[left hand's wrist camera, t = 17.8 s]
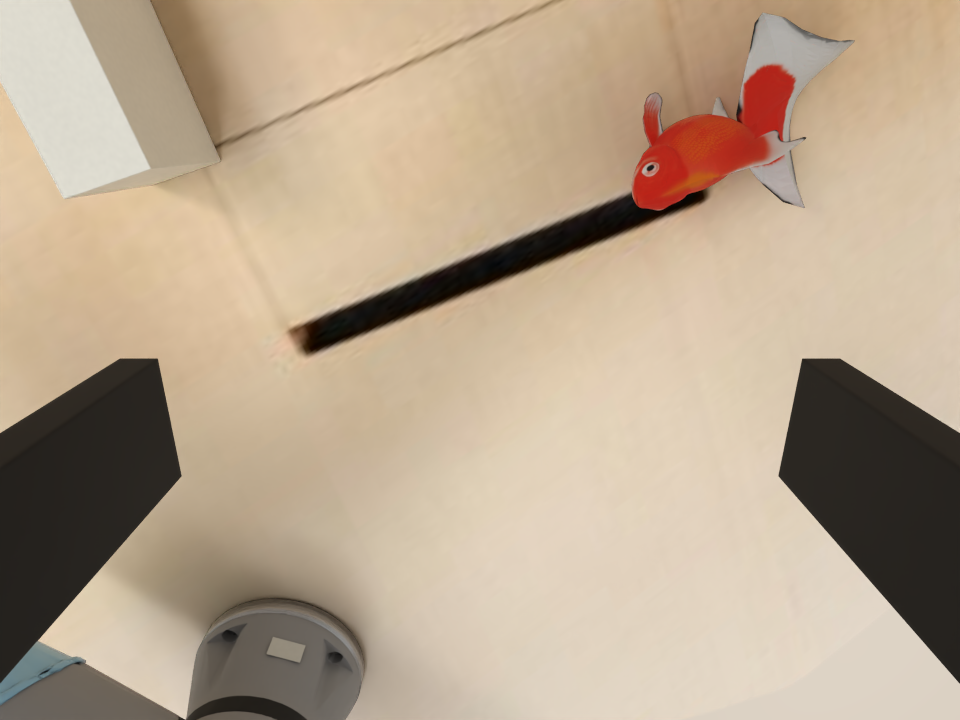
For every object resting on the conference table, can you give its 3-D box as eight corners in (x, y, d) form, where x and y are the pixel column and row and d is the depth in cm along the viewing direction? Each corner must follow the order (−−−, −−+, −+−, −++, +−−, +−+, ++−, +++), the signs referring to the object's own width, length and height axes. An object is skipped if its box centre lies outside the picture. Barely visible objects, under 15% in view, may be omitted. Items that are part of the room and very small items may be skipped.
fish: (582, 41, 34) (717, 67, 27) (777, -17, 39) (935, -8, 32) (587, 214, 41) (696, 272, 34) (752, 146, 46) (878, 184, 39)
